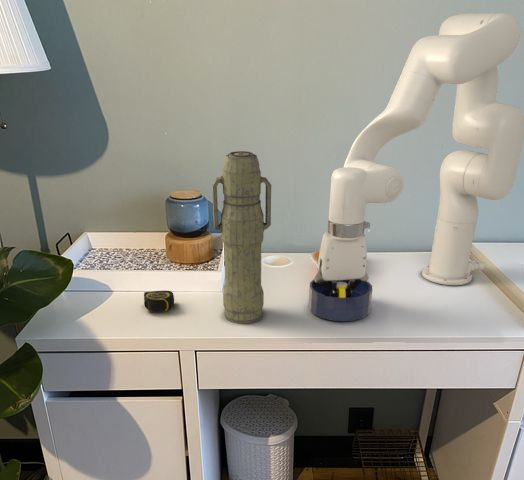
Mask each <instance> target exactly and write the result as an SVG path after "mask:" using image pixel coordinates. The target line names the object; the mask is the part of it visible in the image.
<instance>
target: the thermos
mask: <svg viewBox="0 0 524 480" xmlns="http://www.w3.org/2000/svg"><path fill="white" fill-rule="evenodd" d="M221 171H222V172H221V173H222V174H221V175H220V176H219V177H216V178H215V179H214V181H213V182H212V184H211V193H212V213H213V214H212V216H213V225H214V230H216V231H219V232H220V234H221V235H220V237H221V241H222V243H223V254H224V256H223V257H224V259H223V260H224V284H223V291H222V301H223V303H222V304H223V307H224V308H223V309H224V318H225V319H226V320H227V321H229V322H231V323H234V324H242V325H243V324H244V325H245V324H252V323H256V322H258V321H260V320H261V319H262V318H263V315H264V311H263V308H264V303H265V301H264V297H265V295H264V288H263V286H262V243H263V242H264V234H265V233H264V232H265V230H267V229H268V228H270V227H271V225H272V183H271V182H270V181H269V180H268V178H267V177H265V176H262V174H261V173H262V172H261V168H260V161H259V159H258V155H257V154H255V153H254V152H252V151H246V150H243V151H242V150H240V151H239V150H237V151H231V152H229V153H227V154H226V155H225V158H224V162H223V165H222V169H221ZM262 183H263V184H264V185H265V214H264V212H263V209H262V203H261V202H262V200H261V198H260V197H261V193H262V192H261V190H262V189H261V188H262V187H261V186H262ZM219 184H221V185H222V194H223V201H222V203H223V204H222V206H223V207H222V210H221V213H220V222H219V213H218V212H219V209H218V185H219ZM264 216H265V219H264ZM264 220H265V221H264Z"/></svg>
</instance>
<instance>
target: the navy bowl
mask: <svg viewBox="0 0 524 480" xmlns="http://www.w3.org/2000/svg"><path fill="white" fill-rule="evenodd" d="M314 279H315V278H313V279H312V280H311V281H310V282H309V289H308V309H309V311H310V312H311V313H312V314H313V315H315V316H316V317H318V318H320V319H321V318H322V319H325V320H328V321H334V322H335V321H336V322H351V321H357V320H360V319H363V318H365V317H367V316H368V315H369V314H370V312H371V308H372V299H373V298H372V297H373V285H372V284H371V282H369V281H368V280H366V281H364V282H362V283H360V284H359V285H358V286H357V287H356V288H355V289H354V291H353V292H352V293H351V298H338V297H331V296H329V290H328V289H327V288H326V287H325V286H323V285H320V284H317V283H316V282H315V281H314ZM337 282H345V280H338V281H337Z"/></svg>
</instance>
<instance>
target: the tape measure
mask: <svg viewBox="0 0 524 480" xmlns="http://www.w3.org/2000/svg"><path fill="white" fill-rule="evenodd" d="M143 304H144V305H143V306H144V307H145V309H146V310H147V311H149V312H151V313H152V312H153V313H163V312H168V311H170V310H172V309H173V308H174V307H175V296H174V292H173V291H171V290H153V291H144V292H143Z"/></svg>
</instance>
